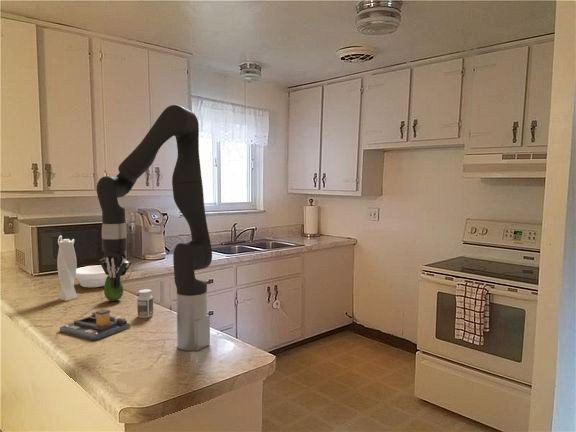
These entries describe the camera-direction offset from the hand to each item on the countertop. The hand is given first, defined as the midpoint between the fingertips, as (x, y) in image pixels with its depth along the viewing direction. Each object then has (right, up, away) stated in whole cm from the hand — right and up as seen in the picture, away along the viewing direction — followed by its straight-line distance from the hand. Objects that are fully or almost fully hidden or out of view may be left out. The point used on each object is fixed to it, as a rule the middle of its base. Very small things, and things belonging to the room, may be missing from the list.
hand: (115, 288), depth 135 cm
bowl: (-39, -11, +68) cm, 79 cm away
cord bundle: (-7, -14, +11) cm, 19 cm away
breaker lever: (-6, -14, +4) cm, 16 cm away
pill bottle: (+3, -15, +21) cm, 26 cm away
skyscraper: (-40, -13, +43) cm, 60 cm away
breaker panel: (-10, -16, +6) cm, 19 cm away
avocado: (-18, -13, +40) cm, 46 cm away
